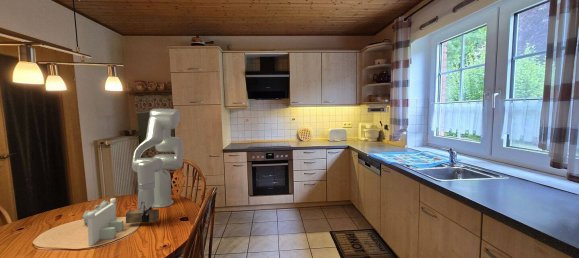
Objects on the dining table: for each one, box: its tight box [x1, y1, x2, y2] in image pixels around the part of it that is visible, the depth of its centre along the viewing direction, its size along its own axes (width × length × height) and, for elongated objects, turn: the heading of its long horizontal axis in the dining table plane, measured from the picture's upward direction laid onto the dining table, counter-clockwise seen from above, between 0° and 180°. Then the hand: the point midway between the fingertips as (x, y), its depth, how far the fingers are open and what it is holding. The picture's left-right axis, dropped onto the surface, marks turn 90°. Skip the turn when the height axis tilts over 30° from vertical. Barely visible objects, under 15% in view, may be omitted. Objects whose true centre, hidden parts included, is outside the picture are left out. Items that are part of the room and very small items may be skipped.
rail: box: [125, 208, 160, 224], centre depth 128 cm, size 14×4×5 cm, turn 100°
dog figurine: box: [82, 200, 110, 227], centre depth 130 cm, size 5×13×11 cm, turn 147°
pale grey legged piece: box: [87, 197, 124, 247], centre depth 117 cm, size 20×7×14 cm, turn 10°
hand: (147, 219), depth 129 cm, fingers closed on rail, 4 cm apart
